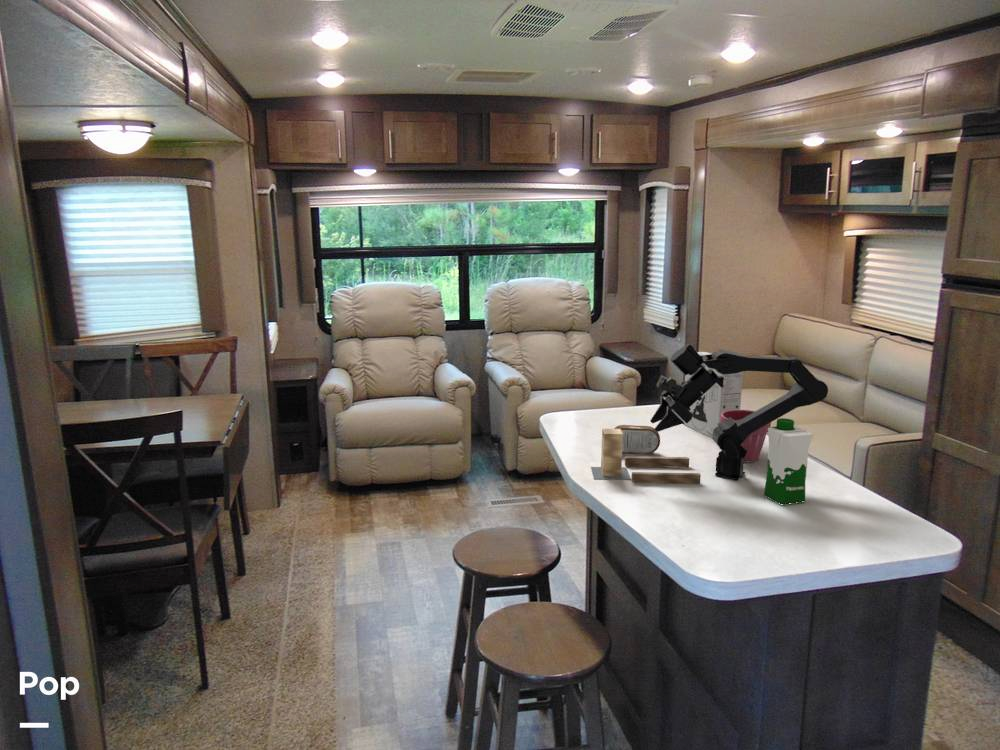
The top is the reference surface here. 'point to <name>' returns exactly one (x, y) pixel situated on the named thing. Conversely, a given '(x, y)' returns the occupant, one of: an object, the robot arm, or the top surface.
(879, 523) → the top surface
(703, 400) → the cereal box
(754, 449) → the plant pot
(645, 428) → the tin
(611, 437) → the oak block
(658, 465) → the plinth rails
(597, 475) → the mat
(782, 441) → the milk carton
